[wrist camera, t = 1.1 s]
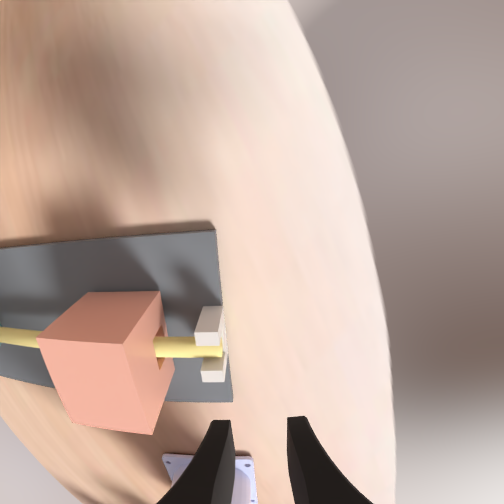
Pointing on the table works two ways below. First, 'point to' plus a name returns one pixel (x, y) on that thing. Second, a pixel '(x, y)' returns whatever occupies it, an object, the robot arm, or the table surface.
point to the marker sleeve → (110, 360)
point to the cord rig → (121, 280)
